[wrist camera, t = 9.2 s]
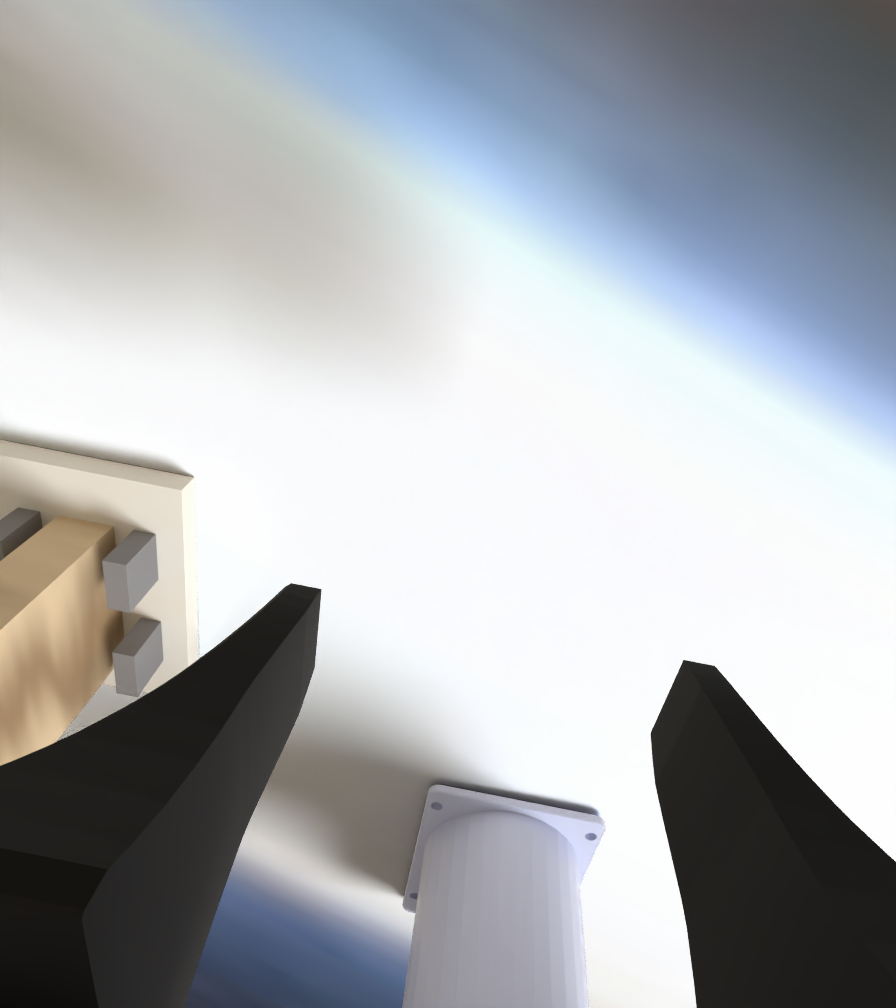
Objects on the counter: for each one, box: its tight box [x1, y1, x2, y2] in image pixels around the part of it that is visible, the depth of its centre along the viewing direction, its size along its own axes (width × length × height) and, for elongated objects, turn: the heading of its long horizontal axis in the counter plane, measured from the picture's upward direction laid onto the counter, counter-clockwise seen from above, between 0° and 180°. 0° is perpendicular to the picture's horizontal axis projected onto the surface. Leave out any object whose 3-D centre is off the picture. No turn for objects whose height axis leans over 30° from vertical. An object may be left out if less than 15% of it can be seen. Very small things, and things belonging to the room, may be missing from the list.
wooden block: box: [0, 515, 124, 766], centre depth 21 cm, size 6×2×8 cm, turn 171°
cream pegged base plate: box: [0, 440, 199, 697], centre depth 24 cm, size 10×7×3 cm
